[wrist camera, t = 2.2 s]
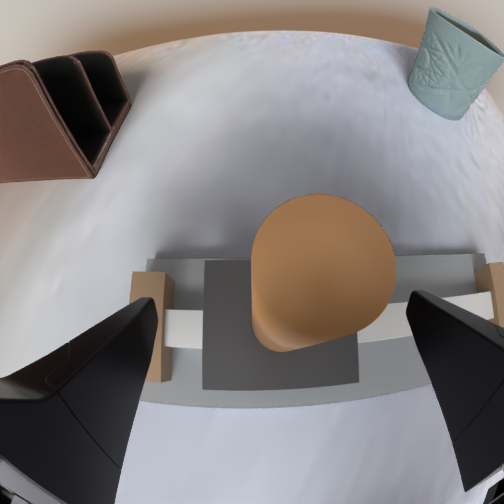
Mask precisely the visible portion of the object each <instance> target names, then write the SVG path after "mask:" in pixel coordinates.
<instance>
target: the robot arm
mask: <svg viewBox="0 0 504 504" xmlns="http://www.w3.org/2000/svg"><path fill="white" fill-rule="evenodd" d="M406 317H407V320H408V323H409V325H410V328H411V331H412V334H413V337H414V340H415V343H416V346H417V349H418V352H419V354H420V356H421V359H422V361H423V363H424V366H425V368H426V371H427V373H428V375H429V378H430V381H431V383H432V386H433V388H434V391H435V393H436V396H437V399H438V402H439V404H440V407H441V410H442V413H443V416H444V419H445V422H446V425H447V428H448V431H449V434H450V437H451V441H452V443H453V448H454V451H455V455H456V459H457V462H458V466H459V470H460V474H461V479H462V483H463V487H464V491H465V492H467V491H469V490H471V489H472V488H474V487H476V486H477V485H479V484H481V483H482V482H484V481H485V480H487V479H488V478H490V477H492V476H493V475H495V474H496V473H497V472H499V471H500V470H502V469H503V471H504V328H503V327H501V326H499V325H497V324H494V323H492V322H490V321H488V320H486V319H484V318H482V317H480V316H478V315H476V314H474V313H472V312H470V311H467V310H465V309H463V308H461V307H459V306H457V305H455V304H452V303H450V302H448V301H446V300H444V299H442V298H439V297H437V296H435V295H433V294H431V293H428V292H426V291H424V290H413V291H412V292H411V294H410V298H409V301H408V304H407V308H406ZM157 328H158V314H157V310H156V305H155V301H154V299H153V298H152V297H140V298H139V299H137V300H136V301H134V302H132V303H131V304H129V305H127V306H126V307H124V308H122V309H121V310H119V311H117V312H116V313H114V314H113V315H111V316H109V317H108V318H106V319H104V320H103V321H101V322H100V323H98V324H96V325H95V326H93V327H91V328H90V329H88V330H87V331H85V332H83V333H82V334H80V335H79V336H77V337H75V338H74V339H72V340H71V341H69V343H66V344H64V345H63V346H61V347H59V348H58V349H56V350H55V351H53V352H51V353H50V354H48V355H46V356H44V357H42V358H41V359H39V360H37V361H35V362H33V363H31V364H29V365H27V366H26V367H24V368H22V369H20V370H18V371H16V372H14V373H12V374H11V375H8V376H6V377H3V378H0V504H114V503H115V498H116V493H117V488H118V484H119V479H120V475H121V469H122V465H123V461H124V457H125V453H126V448H127V444H128V440H129V437H130V433H131V429H132V425H133V421H134V418H135V414H136V410H137V407H138V403H139V400H140V396H141V393H142V389H143V386H144V383H145V379H146V376H147V373H148V370H149V366H150V363H151V359H152V354H153V348H154V343H155V338H156V333H157ZM483 504H504V478H503V479H502V480H500V481H499V482H497V483H496V484H495V485H493V486H492V487H490V488H489V489H488V492H487V495H486V498H485V500H484V503H483Z"/></svg>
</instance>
